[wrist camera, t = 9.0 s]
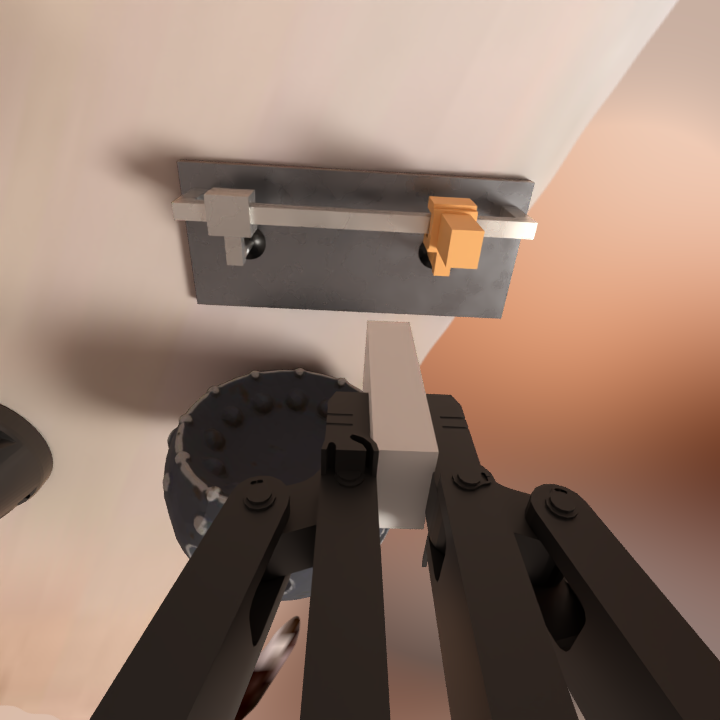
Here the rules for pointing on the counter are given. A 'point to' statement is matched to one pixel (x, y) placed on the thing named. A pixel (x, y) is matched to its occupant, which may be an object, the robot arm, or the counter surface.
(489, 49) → the counter surface
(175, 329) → the counter surface
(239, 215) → the grey slide rail
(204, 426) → the studded round pot
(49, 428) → the counter surface
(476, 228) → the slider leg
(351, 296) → the bolt plate
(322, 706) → the robot arm
